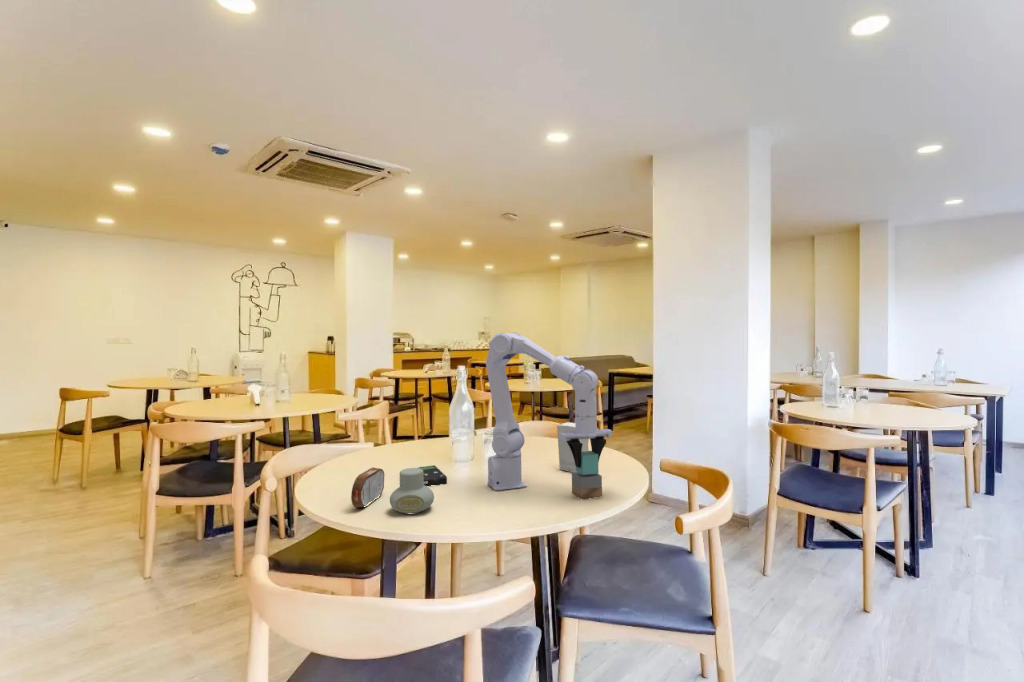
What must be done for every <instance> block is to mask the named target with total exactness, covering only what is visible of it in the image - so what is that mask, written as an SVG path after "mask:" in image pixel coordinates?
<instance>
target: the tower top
mask: <svg viewBox="0 0 1024 682" xmlns="http://www.w3.org/2000/svg"><path fill="white" fill-rule="evenodd" d="M602 477H603V476H602V475H601V474H599V473H596V474H587V475H583V474H581V473H579V472H571V485H572V484H574V485H575V486H577V487H578V488H580V489H589V488H598V487H602V485H603V481H602V479H603V478H602ZM602 488H603V487H602Z"/></svg>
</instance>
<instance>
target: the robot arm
mask: <svg viewBox="0 0 1024 682" xmlns="http://www.w3.org/2000/svg"><path fill="white" fill-rule="evenodd" d="M488 347H489V349H488V353H487V357H486V359H485V367H486V371H487V377H488V384H489V390H490V396H491V401H492V407H493V412H494V418H495V425H494V427H493V430H492V441H491V447H492V450H493V452H494V453H495V455H493V456H492V455H491V456H489V457H488V460H487V476H488V477H487V484H488V485H489V486H490V487H491V488H492V489H493V490H494V491H504V490H513V489H520V488H527V484H525V483H524V481H523V480H522V451H521V450H522V448H523V446H524V445H525V442H526V441H525V435H524V434H523V431H522V430H521V427H520V424H519V423H518V422H517V420H515V416H514V410H513V404H512V397H511V391H510V387H509V381H508V375H507V370H506V369H507V368H506V366H507V365H508V364H509V362H510V361H511V359H512V358H513V357H515V356H517V355H518V354H521V355H522V354H524V355H527V356H529V357H531V358H533V359H534V360H537V361H538V362H540V363H542V364H544V365H545V366H547V367H549V371H550V373H551V374H552V375H553V376H555V377H557V378H558V379H560V380H561V381H564V382H565V383H567V384H568V385H570V386H571V387H572V389H573V391H574V414H575V415H574V416H575V417H574V418H575V419H574V420H575V421H574V423H575V431H571V432H566V433H560V440H561V441H563V442H565V441H567V443H568V445H569V447H570V449H571V452H572V454H573V457H574V461H575V466H576V467H578V468H580V467H581V451H582V445H583V444H582V443H580V441H579V440H581V439H588V440H589V441H590V447H591V448H590V449H591V451H592V452H594V453H596V454H598V464H599V461H600V457H601V455H602V452H603V450H604V448H605V446H606V444H607V439H606V438H609V439H610V438H612V437H613V431H612V429H609V428H605V429H603V428H602V429H598V424H597V422H598V421H597V420H598V419H597V416H598V415H597V409H598V408H597V387H598V385H599V376H598V375H597V374H596V373H595V372H594V370H592V369H585V366H584V365H579V364H577V363H576V362H574V361H572V360H570V359H571V357H570V356H568V355H557V356H555V355H553V354H552V353H550V352H549V351H548V350H546V349H545V348H543V347H541V346H540V345H539V344H537V343H535V342H534V341H532V340H530V338H528V337H526V336H523V335H521V334H520V333H518V332H511V333H510V332H509V333H506V332H499V333H496V334H495V335H494V336H493V337H492V339H491V340H489V342H488Z"/></svg>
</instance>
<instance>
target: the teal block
mask: <svg viewBox="0 0 1024 682" xmlns="http://www.w3.org/2000/svg"><path fill="white" fill-rule="evenodd" d="M576 471H577V472H579V473H581V474H583V475H587V474H596V473H598V474H599V463H598V454H596V453H594V452H592V450H589V451H583V452H581V467H580V468H578V467H576Z"/></svg>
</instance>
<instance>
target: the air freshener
mask: <svg viewBox="0 0 1024 682" xmlns="http://www.w3.org/2000/svg"><path fill="white" fill-rule="evenodd" d="M434 500H435V493H434V492H433V490H432V489H431V488H430V487H427V486H425V485H424V478H423V470H422V469H420V468H419V467H409V468H405V469H401V470H400V471H399V487H397V488H396V489H395V490H394V491H392V493H391V494H390V496H389V504H390V506H391V508H392V509H394V511H397V512H399V513H401V514H404V513H416V514H418V513H417V512H419V513H422V512H423V511H426V510H427V509H428V508H429V507H430V506H431V505H432V504H433V503H434ZM421 511H422V512H421Z"/></svg>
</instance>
